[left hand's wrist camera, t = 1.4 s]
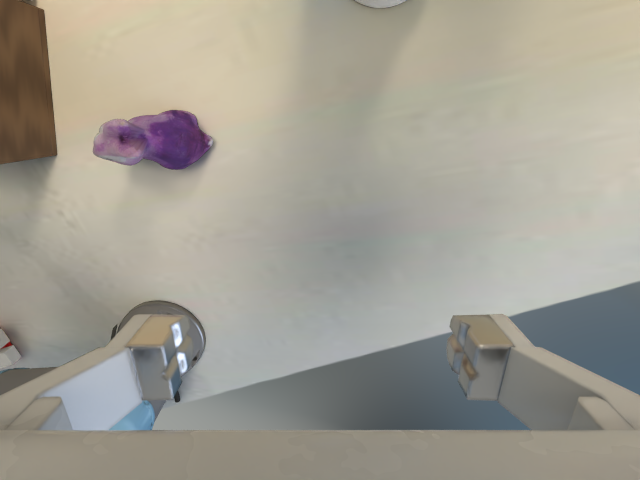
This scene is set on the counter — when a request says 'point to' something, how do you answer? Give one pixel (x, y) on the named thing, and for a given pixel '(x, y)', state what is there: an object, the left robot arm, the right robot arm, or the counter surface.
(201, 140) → the figurine
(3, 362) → the toy
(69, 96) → the counter surface
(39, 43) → the cabinet
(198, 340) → the right robot arm
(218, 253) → the counter surface
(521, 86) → the counter surface
